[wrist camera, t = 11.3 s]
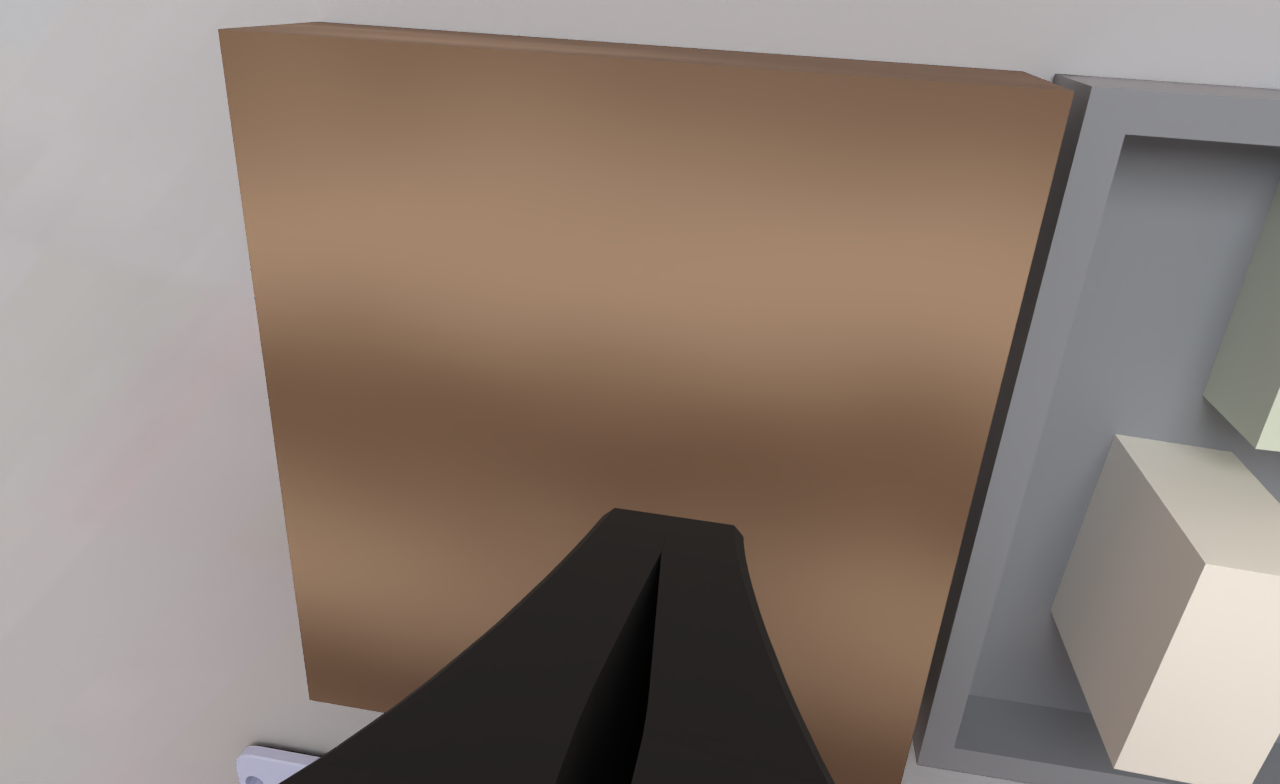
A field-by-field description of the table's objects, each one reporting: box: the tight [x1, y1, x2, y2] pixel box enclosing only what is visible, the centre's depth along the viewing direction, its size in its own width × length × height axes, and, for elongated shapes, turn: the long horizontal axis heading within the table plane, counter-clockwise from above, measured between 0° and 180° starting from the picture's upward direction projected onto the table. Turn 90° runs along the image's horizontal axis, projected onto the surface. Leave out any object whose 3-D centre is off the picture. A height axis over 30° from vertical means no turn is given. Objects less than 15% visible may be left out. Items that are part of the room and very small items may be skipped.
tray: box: [913, 74, 1280, 784], centre depth 15 cm, size 13×10×2 cm
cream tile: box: [1051, 434, 1280, 784], centre depth 15 cm, size 4×4×2 cm
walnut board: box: [218, 22, 1074, 784], centre depth 16 cm, size 13×12×3 cm
